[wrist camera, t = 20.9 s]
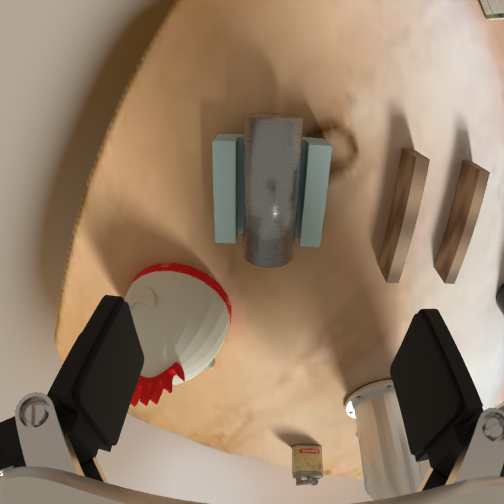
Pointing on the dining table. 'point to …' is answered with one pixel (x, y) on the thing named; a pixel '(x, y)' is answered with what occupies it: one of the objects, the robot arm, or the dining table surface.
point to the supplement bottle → (501, 299)
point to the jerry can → (307, 464)
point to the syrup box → (493, 9)
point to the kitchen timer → (176, 325)
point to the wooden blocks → (407, 212)
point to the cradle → (232, 188)
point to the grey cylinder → (271, 187)
